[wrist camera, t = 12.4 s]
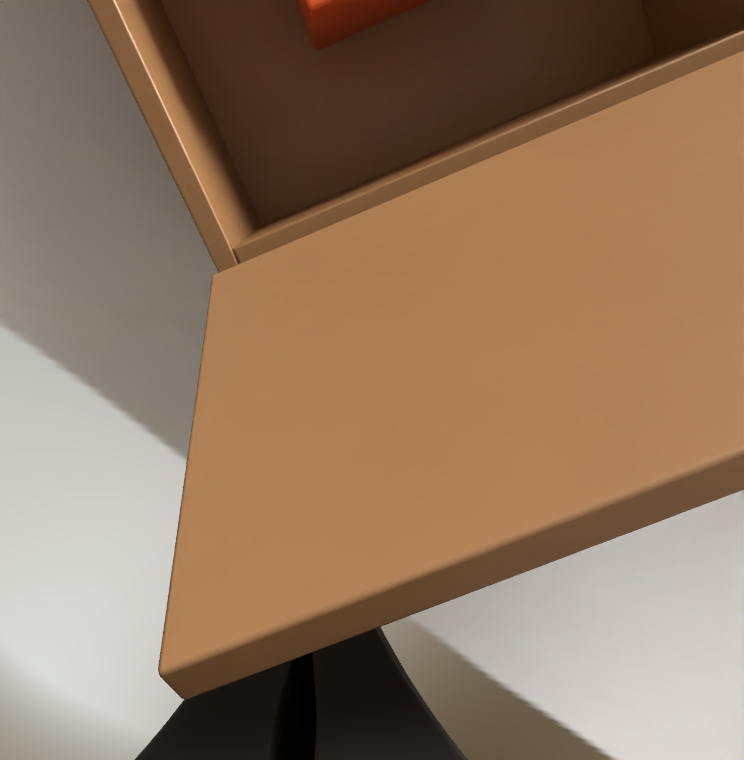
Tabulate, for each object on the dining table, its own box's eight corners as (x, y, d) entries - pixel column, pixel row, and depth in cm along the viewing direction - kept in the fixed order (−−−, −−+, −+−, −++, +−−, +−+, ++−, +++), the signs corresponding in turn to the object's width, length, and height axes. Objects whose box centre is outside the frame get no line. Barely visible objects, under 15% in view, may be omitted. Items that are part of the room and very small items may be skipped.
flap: (854, 3, 10) (853, 30, 10) (211, 275, 11) (223, 295, 11) (1795, 50, 4) (1741, 116, 4) (153, 675, 5) (182, 703, 5)
